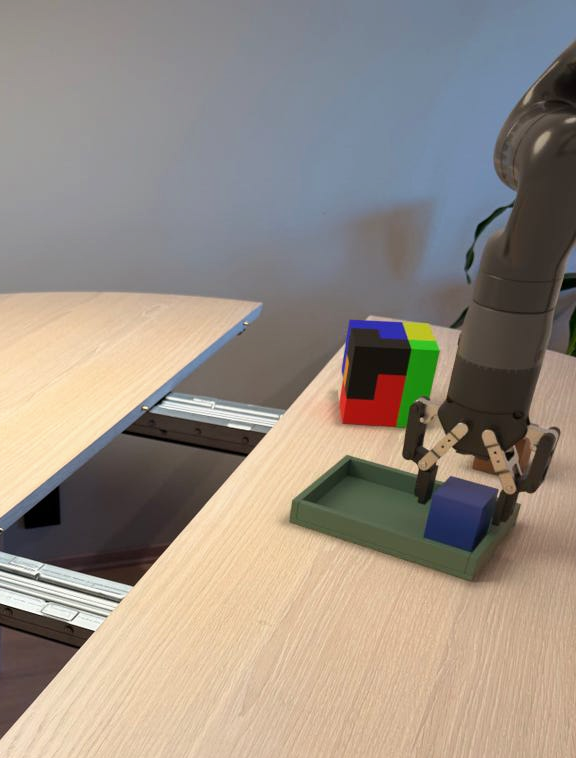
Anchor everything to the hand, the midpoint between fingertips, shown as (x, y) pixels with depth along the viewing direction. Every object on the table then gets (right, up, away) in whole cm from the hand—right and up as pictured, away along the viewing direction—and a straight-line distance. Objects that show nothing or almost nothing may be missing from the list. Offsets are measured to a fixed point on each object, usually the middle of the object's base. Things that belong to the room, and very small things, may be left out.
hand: (460, 511), depth 99 cm
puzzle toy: (0, +17, +29) cm, 33 cm away
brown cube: (+11, +7, +16) cm, 20 cm away
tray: (-4, -1, +5) cm, 6 cm away
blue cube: (0, -2, +2) cm, 3 cm away
